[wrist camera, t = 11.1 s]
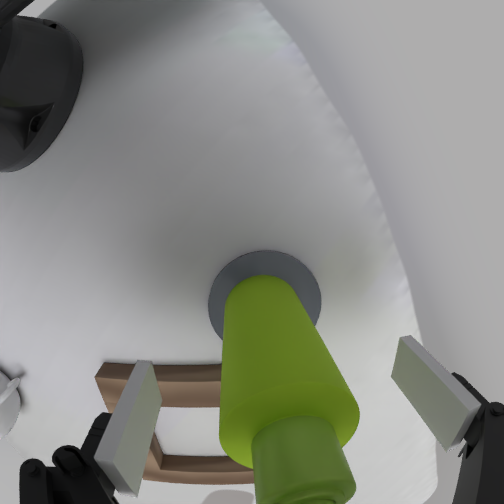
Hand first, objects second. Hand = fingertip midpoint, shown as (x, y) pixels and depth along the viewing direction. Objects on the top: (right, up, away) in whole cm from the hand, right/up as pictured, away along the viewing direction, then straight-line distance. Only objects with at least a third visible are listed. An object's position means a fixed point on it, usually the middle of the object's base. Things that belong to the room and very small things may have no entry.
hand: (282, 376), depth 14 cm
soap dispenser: (-1, +2, +9) cm, 9 cm away
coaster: (0, +2, +10) cm, 10 cm away
